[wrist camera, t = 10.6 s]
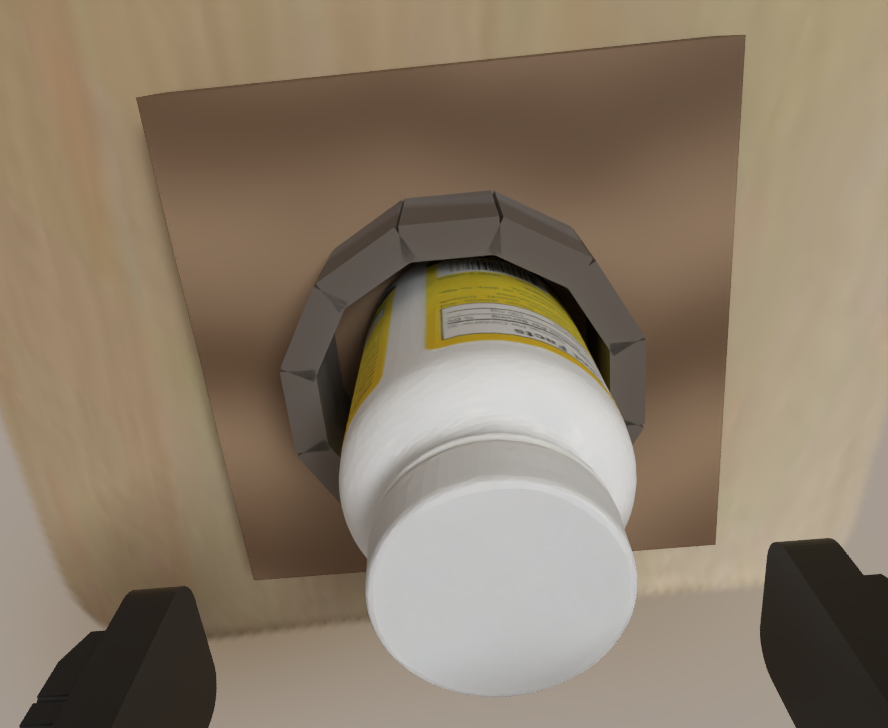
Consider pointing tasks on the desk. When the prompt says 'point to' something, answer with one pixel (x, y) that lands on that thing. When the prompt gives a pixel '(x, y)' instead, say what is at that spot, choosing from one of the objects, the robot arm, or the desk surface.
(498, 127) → the cup bracket
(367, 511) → the supplement bottle
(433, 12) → the desk surface
